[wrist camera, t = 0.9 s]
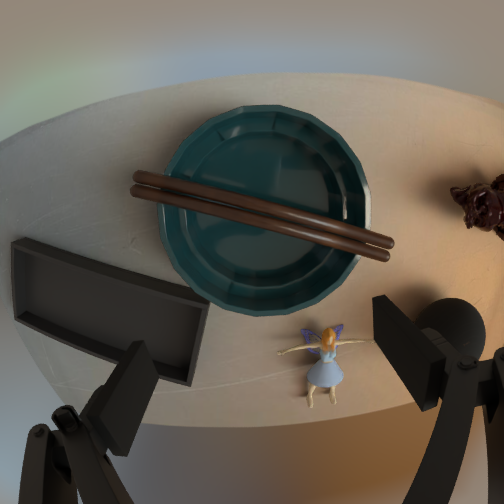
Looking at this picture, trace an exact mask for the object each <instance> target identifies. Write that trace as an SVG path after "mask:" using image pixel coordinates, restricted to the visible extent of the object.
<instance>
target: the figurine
mask: <svg viewBox="0 0 504 504" xmlns="http://www.w3.org/2000/svg"><path fill="white" fill-rule="evenodd" d="M470 187H471V185H470V186H469V187H466V188H467V189H466V188H463V189H465V190H463V189H461V188H459V187H452V188H451V189H450V192H451V195H452V197H453V199H454V201H455V202H456V203H458V204H459V205H460V206H462V208H463V210H464V212H465V216H464V219H463V220H464V222H465V225H466V226H467V228H468V229H470V227H471V228H472V227H473V226H474V227H476V228H478V229H480V230H482V231H485V232H489V231H491V230H492V229H494V230H495V231H496V233H497V234H496V235H498V236H499V237H500V238H501V239H502V240H503V241H504V174H501V175H499V176H498V177H496V180H494V181H493V182H492V184H491V185H490V186H489V185H487V184H483V183H476V184H474V187H473V188H472V189H471V191H470V194H469V193H465V192H467V191H468V190H469V189H470ZM455 189H460V190H463V191H455Z"/></svg>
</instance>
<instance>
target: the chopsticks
mask: <svg viewBox="0 0 504 504" xmlns="http://www.w3.org/2000/svg"><path fill="white" fill-rule="evenodd" d="M133 180H134V181H135V182H136V183H139V184H144V185H149V186H153V187H157V188H162V189H166V190H170V191H175V192H179V193H183V194H187V195H192V196H196V197H200V198H204V199H208V200H212V201H216V202H220V203H224V204H228V205H232V206H236V207H240V208H244V209H248V210H252V211H255V212H259V213H263V214H267V215H271V216H274V217H278V218H282V219H285V220H289V221H293V222H296V223H300V224H303V225H307V226H311V227H314V228H318V229H321V230H325V231H328V232H331V233H335V234H338V235H342V236H345V237H349V238H352V239H355V240H359V241H362V242H365V243H368V244H372V245H375V246H378V247H382V248H385V249H392V248H393V247H394V240H393V239H392V238H391V237H388V236H385V235H382V234H379V233H376V232H373V231H370V230H367V229H364V228H360V227H357V226H354V225H351V224H348V223H344V222H341V221H338V220H334V219H331V218H328V217H324V216H321V215H318V214H314V213H311V212H307V211H304V210H300V209H297V208H293V207H290V206H286V205H282V204H279V203H275V202H271V201H268V200H264V199H260V198H257V197H253V196H249V195H245V194H241V193H237V192H233V191H229V190H225V189H221V188H217V187H213V186H209V185H205V184H201V183H196V182H192V181H188V180H183V179H179V178H174V177H170V176H165V175H161V174H156V173H152V172H147V171H142V170H137V171H136V172H134V174H133ZM139 184H135V185H133V186H132V187H131V188H130V194H131V195H132V196H133V197H136V198H141V199H145V200H149V201H153V202H158V203H162V204H166V205H170V206H174V207H178V208H182V209H186V210H191V211H195V212H199V213H203V214H207V215H211V216H215V217H219V218H223V219H227V220H230V221H234V222H238V223H242V224H246V225H250V226H254V227H258V228H261V229H265V230H269V231H273V232H277V233H280V234H284V235H288V236H291V237H295V238H299V239H303V240H306V241H310V242H314V243H317V244H321V245H325V246H328V247H332V248H335V249H339V250H342V251H346V252H350V253H353V254H357V255H360V256H364V257H367V258H371V259H374V260H378V261H381V262H387V261H388V260H389V259H390V253H389V252H388V251H387V250H384V249H381V248H378V247H375V246H371V245H368V244H365V243H361V242H358V241H355V240H351V239H348V238H345V237H341V236H338V235H334V234H331V233H327V232H324V231H320V230H317V229H313V228H310V227H306V226H303V225H299V224H295V223H292V222H288V221H285V220H281V219H277V218H273V217H270V216H266V215H262V214H258V213H255V212H251V211H247V210H243V209H239V208H235V207H231V206H227V205H223V204H219V203H215V202H211V201H207V200H203V199H199V198H195V197H191V196H187V195H182V194H178V193H174V192H170V191H165V190H161V189H157V188H152V187H148V186H143V185H139Z"/></svg>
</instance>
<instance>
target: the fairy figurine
mask: <svg viewBox="0 0 504 504" xmlns="http://www.w3.org/2000/svg"><path fill="white" fill-rule="evenodd" d="M339 326H341V325H339ZM339 326H337V330H336V329H334V330H332V329H331V328H326V329H325V330H324V331H323V334H322V339H321V338H320V337H319V336H318V335H317V336H318V337H319V338H320V339H321V340H322V341H318V342H314V343H311V342H310V341H309V340H310V339H309V336H308V334H310V333H311V335H312V334H313V332H312V331H311V332H309V333H308V331H310V330H308V331H307V332H303V333H302V334H303V335H304V337H305V340H306V342H307V341H308V342H307V343H308V344H302V345H298V346H295V347H293V348H290V349H286V350H281V351H280V354H282V353H283V354H285V353H287V352H289V351H293V350H299V349H303V348H307V349H308V350H309V351H310V352H312V351H313V350H311V348H320V353H319V352H316V351H313V352H314V354H320V356H321V359H319V360H318V361H317V362H316V363H315V365H314V366H313V367H312V368H311V369H310V370H309V371H308V373H307V379H308V381H309V382H310V385H309V392H308V395H307V399H306V400H307V403H308V407H310V408H311V407H313V401H312V393H313V391H314V389H315V387H316V386H318V387H330V392H329V397H330V401H331V403H332V404H336V398H335V393H334V389H335V385H337V384H338V383H340V382H341V381H342V379H343V372H342V370H341V369H340V367H339V366H338V364H337V363H336V362H335V360H334V357H335V356H336V347H335V346H337V347H338V345H340V344H345V343H356V342H368V343H372V342H373V341H374V342H375V340H374V339H368V340H361V339H341V340H338V339H339V336H340V333H341V330H342V329H343V325H342V326H341V327H340V328H339ZM338 329H340V330H338ZM305 330H307V329H305ZM335 330H336V331H339V332H338V333H337V336H338V337H337V339H336V337H335V332H336V331H335ZM302 331H304V329H301V332H302ZM305 333H307V337H306V334H305ZM338 334H339V335H338ZM314 335H316V334H315V333H314ZM307 338H308V339H309V340H308V339H307ZM315 339H316V338H315ZM375 343H376V342H375ZM372 344H373V343H372ZM278 352H279V351H278ZM278 352H277V354H278V355H279V353H278ZM313 352H312V353H313ZM315 352H316V353H315ZM283 354H282V355H283Z"/></svg>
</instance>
